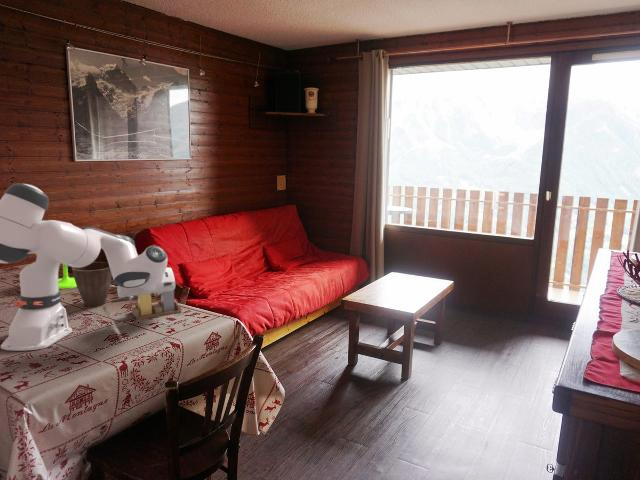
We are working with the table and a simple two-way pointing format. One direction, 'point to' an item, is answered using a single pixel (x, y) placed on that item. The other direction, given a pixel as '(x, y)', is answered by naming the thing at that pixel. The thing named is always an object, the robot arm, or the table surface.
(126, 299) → the phone
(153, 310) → the slot rack
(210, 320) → the table surface
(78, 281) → the plant pot
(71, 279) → the wineglass
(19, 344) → the robot arm
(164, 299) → the plug grey
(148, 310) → the plug ochre
